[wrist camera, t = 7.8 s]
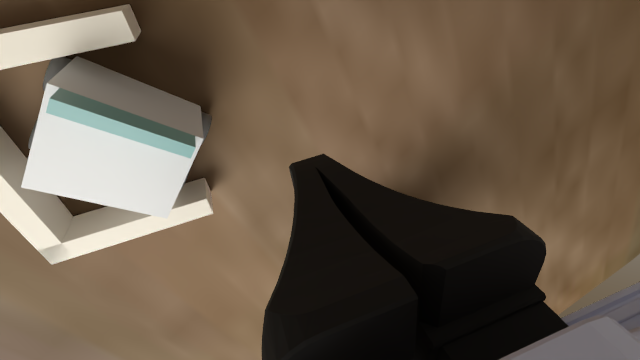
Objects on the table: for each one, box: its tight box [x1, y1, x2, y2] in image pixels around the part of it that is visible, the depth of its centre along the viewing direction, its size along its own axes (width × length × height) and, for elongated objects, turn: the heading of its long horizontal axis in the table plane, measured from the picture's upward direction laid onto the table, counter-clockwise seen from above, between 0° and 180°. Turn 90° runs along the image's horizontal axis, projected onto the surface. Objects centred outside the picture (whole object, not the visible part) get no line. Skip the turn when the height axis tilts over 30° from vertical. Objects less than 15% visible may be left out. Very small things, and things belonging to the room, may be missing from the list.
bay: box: [0, 4, 213, 265], centre depth 17 cm, size 11×9×2 cm
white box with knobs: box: [21, 56, 212, 219], centre depth 16 cm, size 7×5×6 cm
